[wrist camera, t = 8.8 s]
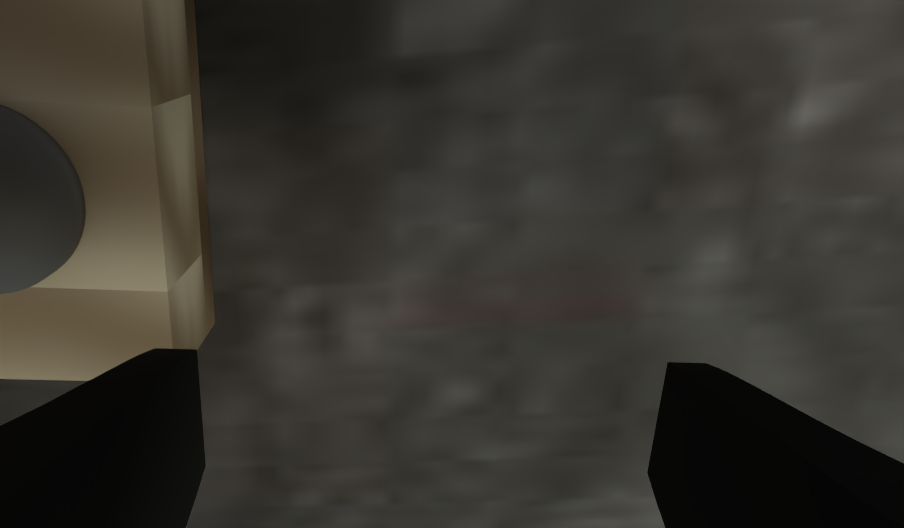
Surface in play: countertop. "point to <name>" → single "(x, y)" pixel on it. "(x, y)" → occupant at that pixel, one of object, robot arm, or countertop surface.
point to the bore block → (100, 186)
